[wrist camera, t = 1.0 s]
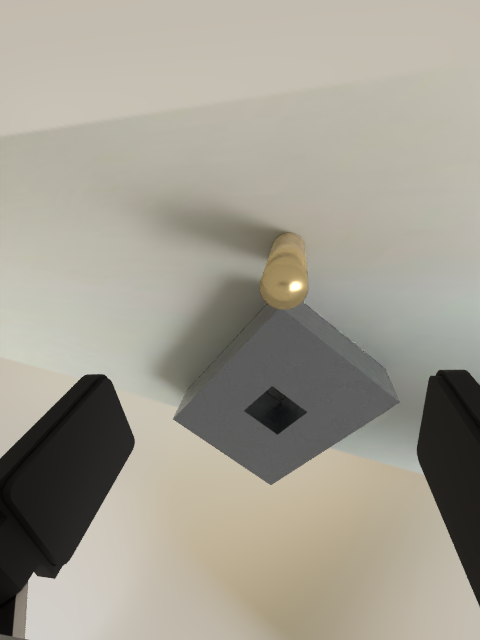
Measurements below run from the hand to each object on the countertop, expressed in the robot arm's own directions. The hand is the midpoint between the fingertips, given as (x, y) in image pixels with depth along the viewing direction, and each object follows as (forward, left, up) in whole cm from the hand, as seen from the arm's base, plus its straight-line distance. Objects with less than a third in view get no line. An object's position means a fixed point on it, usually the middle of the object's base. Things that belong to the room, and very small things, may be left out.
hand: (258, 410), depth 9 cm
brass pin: (0, 0, -21) cm, 21 cm away
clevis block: (-9, +12, -21) cm, 26 cm away
